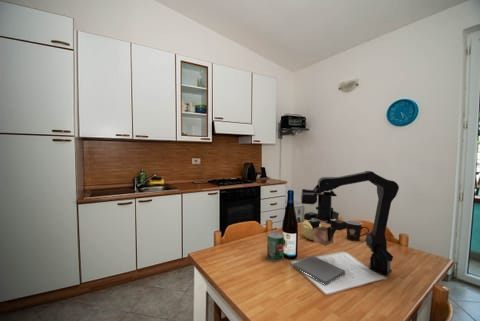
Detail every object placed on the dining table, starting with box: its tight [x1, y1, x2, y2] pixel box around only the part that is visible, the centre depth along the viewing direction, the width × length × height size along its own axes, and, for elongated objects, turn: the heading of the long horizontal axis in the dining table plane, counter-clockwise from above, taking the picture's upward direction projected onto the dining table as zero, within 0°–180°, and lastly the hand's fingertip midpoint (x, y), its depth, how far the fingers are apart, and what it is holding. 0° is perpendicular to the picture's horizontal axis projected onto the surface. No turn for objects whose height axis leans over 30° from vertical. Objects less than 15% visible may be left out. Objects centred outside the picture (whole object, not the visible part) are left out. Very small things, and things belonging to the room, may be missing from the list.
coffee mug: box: [345, 219, 370, 242], centre depth 125 cm, size 12×9×10 cm
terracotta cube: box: [313, 225, 335, 247], centre depth 97 cm, size 6×6×6 cm
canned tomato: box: [266, 231, 285, 262], centre depth 103 cm, size 8×8×11 cm
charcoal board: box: [292, 255, 346, 286], centre depth 91 cm, size 16×14×2 cm
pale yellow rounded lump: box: [301, 220, 323, 241], centre depth 127 cm, size 11×12×11 cm
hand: (323, 239), depth 97 cm, fingers closed on terracotta cube, 6 cm apart
